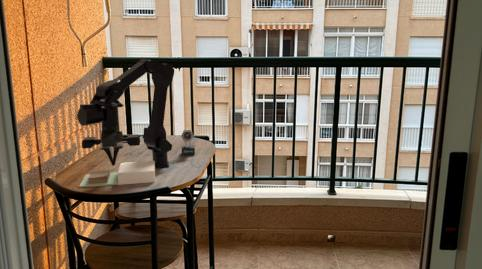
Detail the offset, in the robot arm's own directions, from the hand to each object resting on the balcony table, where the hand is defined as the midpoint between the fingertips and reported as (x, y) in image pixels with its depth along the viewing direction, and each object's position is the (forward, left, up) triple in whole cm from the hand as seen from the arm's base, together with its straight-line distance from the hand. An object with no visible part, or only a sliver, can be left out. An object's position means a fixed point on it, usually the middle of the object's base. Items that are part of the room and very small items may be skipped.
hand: (113, 165), depth 140 cm
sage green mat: (0, -4, -5) cm, 7 cm away
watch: (-29, +28, -5) cm, 40 cm away
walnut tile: (0, -5, -3) cm, 6 cm away
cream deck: (0, +8, -5) cm, 9 cm away
